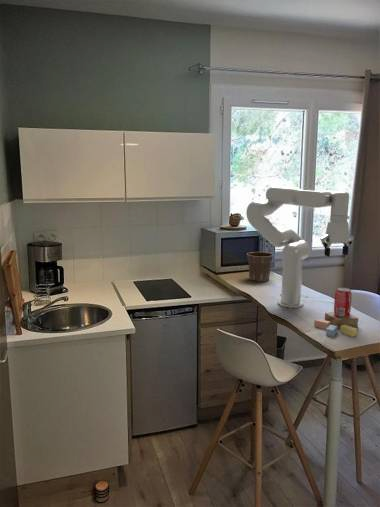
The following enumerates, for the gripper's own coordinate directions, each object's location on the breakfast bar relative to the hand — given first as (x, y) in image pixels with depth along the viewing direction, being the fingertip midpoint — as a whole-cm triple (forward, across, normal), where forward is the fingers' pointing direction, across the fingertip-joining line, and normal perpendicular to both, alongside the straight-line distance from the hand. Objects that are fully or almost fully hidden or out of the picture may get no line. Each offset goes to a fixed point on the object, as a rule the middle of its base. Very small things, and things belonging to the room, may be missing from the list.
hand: (336, 255), depth 208 cm
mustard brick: (+28, +9, +25) cm, 39 cm away
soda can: (+24, +5, +14) cm, 29 cm away
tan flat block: (+28, +5, +14) cm, 32 cm away
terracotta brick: (+28, +15, +15) cm, 35 cm away
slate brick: (+28, +16, +23) cm, 40 cm away
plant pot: (+28, +5, -69) cm, 75 cm away
